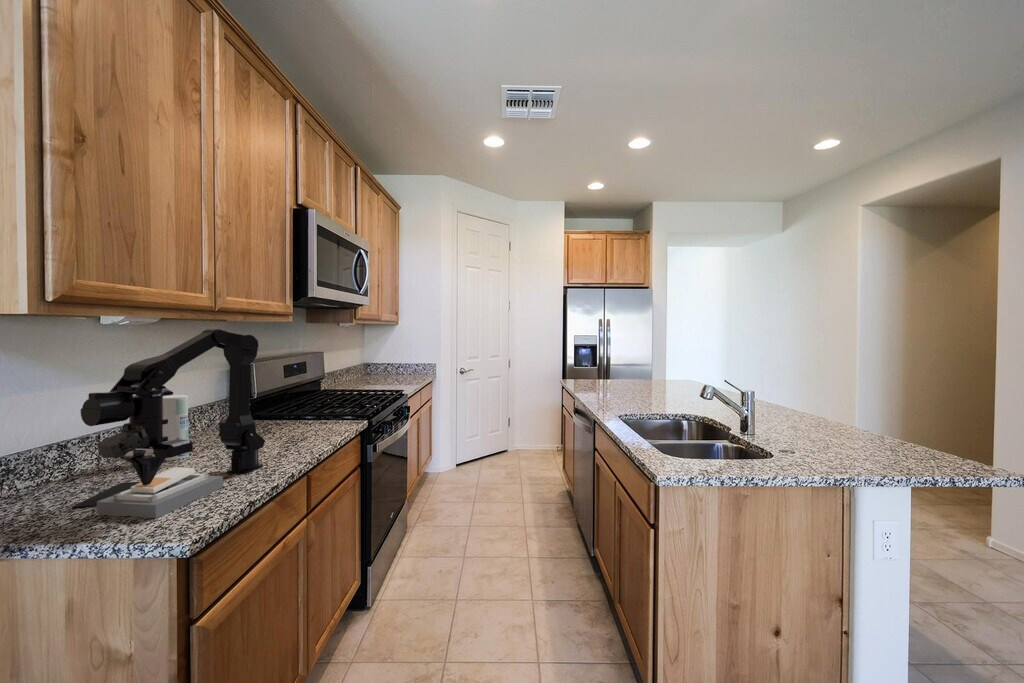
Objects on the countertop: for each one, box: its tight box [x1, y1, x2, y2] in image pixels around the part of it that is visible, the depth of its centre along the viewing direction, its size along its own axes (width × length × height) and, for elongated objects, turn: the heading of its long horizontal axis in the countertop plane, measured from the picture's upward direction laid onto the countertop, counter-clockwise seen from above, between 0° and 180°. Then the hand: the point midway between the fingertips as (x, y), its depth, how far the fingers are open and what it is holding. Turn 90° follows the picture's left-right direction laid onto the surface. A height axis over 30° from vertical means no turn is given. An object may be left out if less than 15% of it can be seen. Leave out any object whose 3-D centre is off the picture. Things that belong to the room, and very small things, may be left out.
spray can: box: [162, 394, 190, 462], centre depth 126 cm, size 6×6×20 cm
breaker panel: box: [96, 473, 224, 520], centre depth 95 cm, size 17×15×4 cm
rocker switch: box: [131, 466, 196, 493], centre depth 95 cm, size 10×6×1 cm, turn 173°
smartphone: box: [71, 481, 141, 510], centre depth 98 cm, size 7×1×15 cm
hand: (146, 484), depth 91 cm, fingers closed, pressing on rocker switch
